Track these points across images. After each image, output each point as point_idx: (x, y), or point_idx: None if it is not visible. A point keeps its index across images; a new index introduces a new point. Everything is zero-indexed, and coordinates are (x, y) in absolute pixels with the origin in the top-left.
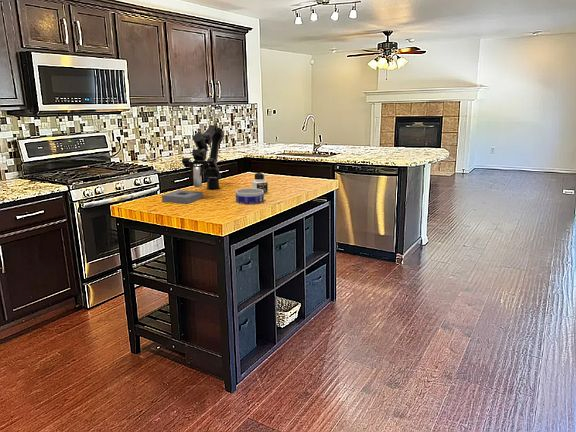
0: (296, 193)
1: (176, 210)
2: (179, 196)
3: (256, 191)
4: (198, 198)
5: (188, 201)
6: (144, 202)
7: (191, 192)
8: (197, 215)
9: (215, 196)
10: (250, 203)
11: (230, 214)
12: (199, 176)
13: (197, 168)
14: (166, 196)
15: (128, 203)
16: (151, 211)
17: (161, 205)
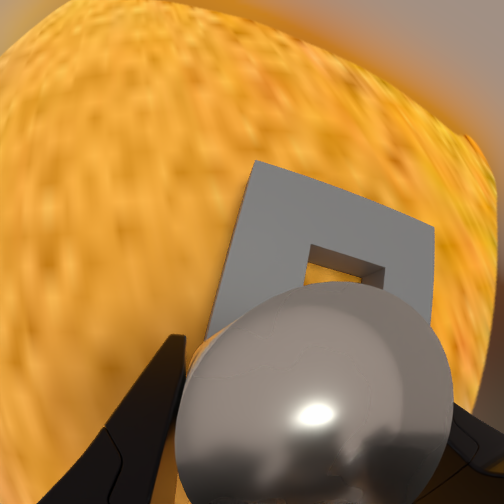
0: None
1: (256, 71)
2: (324, 193)
3: None
4: (209, 319)
5: (246, 187)
6: (463, 224)
7: None
8: (148, 26)
9: None
10: None
11: (34, 52)
12: (205, 342)
13: (267, 305)
14: (406, 217)
15: (490, 208)
16: (349, 74)
17: (372, 158)
